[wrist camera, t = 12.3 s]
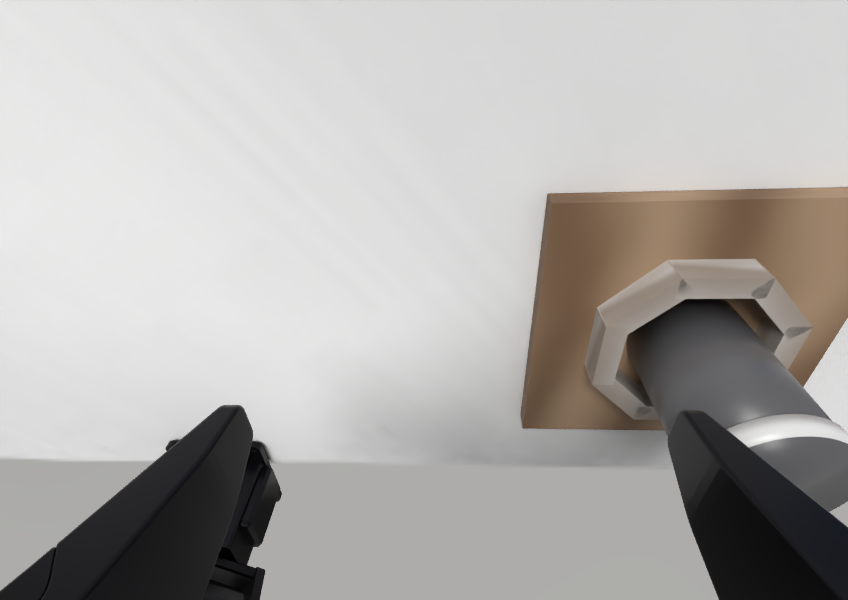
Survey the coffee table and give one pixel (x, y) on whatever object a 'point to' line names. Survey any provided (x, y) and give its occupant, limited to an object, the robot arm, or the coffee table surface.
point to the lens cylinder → (740, 393)
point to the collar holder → (675, 288)
